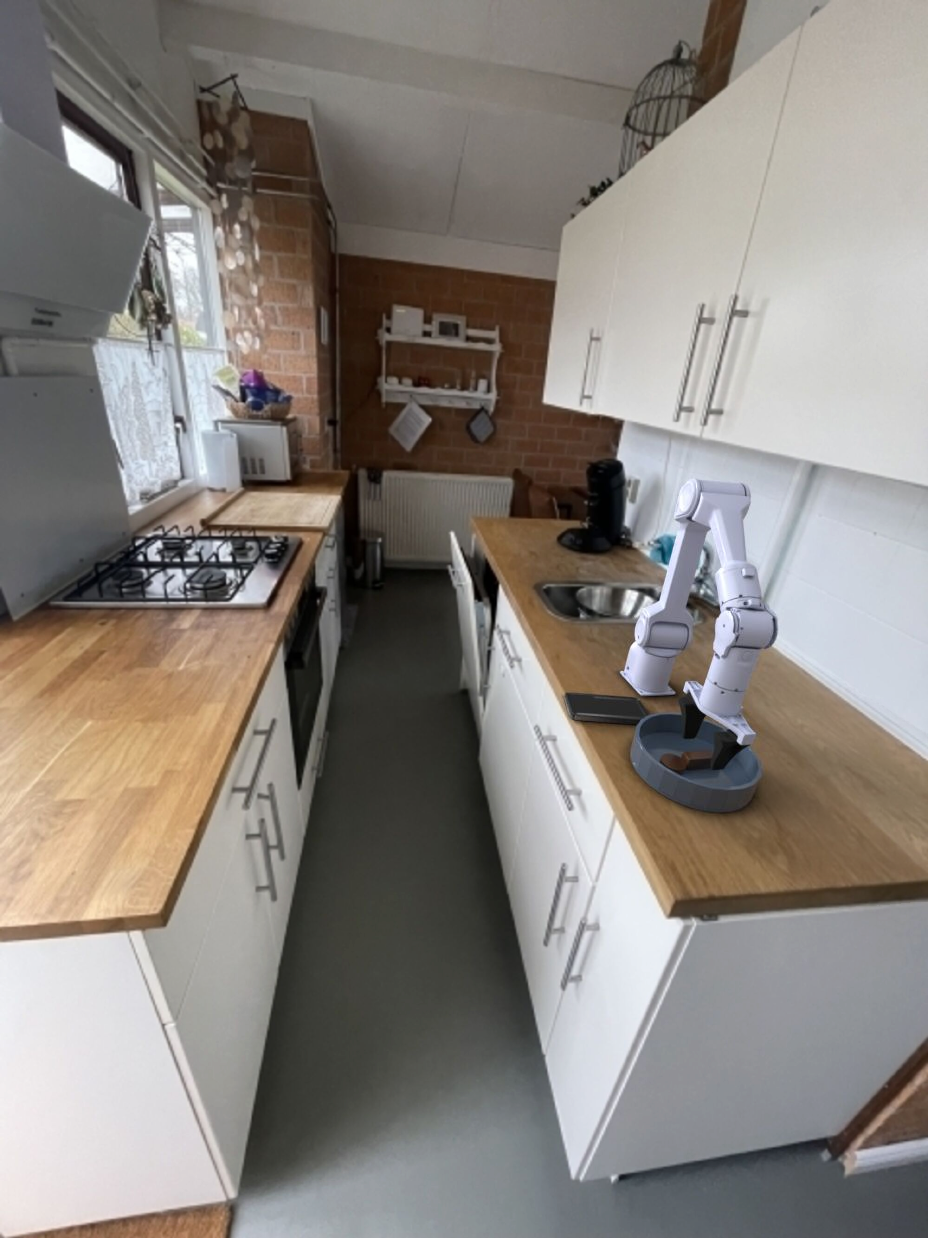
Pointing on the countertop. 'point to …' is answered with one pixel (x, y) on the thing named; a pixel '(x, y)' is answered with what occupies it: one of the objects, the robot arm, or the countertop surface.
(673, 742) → the shallow round tray
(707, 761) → the brown elongated piece
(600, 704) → the phone
